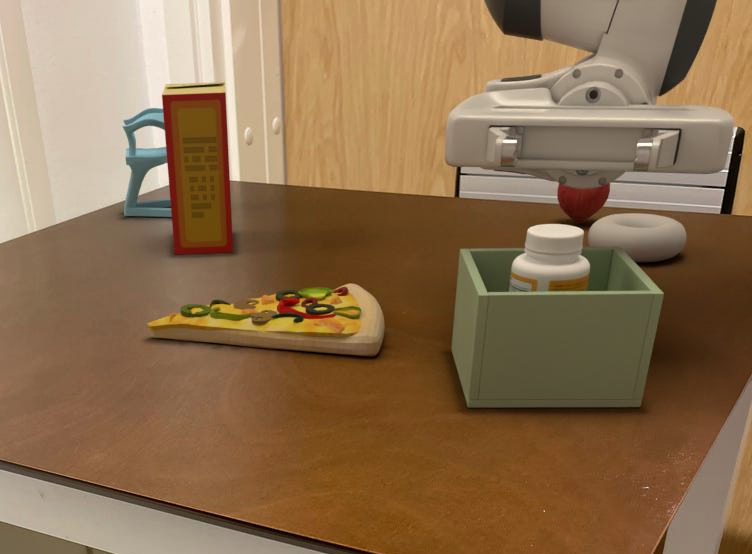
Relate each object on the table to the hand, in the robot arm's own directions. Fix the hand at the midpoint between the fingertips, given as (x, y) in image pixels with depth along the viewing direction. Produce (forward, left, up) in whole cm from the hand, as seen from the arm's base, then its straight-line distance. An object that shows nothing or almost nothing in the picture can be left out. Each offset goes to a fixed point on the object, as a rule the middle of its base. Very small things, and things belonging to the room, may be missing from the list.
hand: (573, 155), depth 67 cm
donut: (-16, -36, -16) cm, 42 cm away
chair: (+39, -59, -16) cm, 72 cm away
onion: (-13, -50, -16) cm, 54 cm away
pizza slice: (+22, -11, -16) cm, 29 cm away
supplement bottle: (+1, 0, -15) cm, 15 cm away
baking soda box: (+31, -43, -16) cm, 55 cm away
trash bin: (0, 0, -16) cm, 16 cm away
